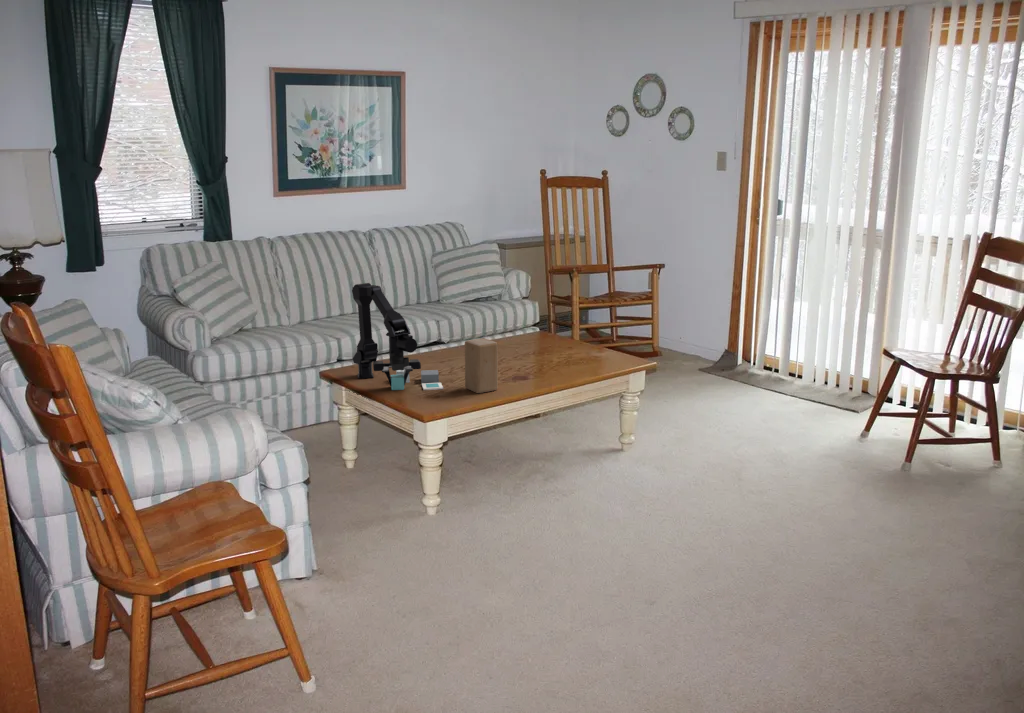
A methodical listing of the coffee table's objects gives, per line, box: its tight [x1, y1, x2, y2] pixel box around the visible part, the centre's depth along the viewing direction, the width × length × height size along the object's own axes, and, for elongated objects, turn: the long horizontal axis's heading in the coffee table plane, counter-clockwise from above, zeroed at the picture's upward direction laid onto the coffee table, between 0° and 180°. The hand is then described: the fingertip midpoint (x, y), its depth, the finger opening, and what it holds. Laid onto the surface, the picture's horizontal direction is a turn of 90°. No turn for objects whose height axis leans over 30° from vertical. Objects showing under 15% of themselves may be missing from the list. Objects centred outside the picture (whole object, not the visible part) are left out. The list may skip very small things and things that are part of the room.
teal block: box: [390, 374, 405, 391], centre depth 363 cm, size 5×5×5 cm
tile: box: [421, 381, 444, 391], centre depth 366 cm, size 8×8×1 cm
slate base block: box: [420, 369, 440, 384], centre depth 374 cm, size 7×7×4 cm
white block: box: [395, 370, 411, 384], centre depth 373 cm, size 5×5×5 cm
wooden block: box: [464, 337, 499, 394], centre depth 360 cm, size 10×10×20 cm
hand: (397, 385), depth 364 cm, fingers closed on teal block, 5 cm apart
